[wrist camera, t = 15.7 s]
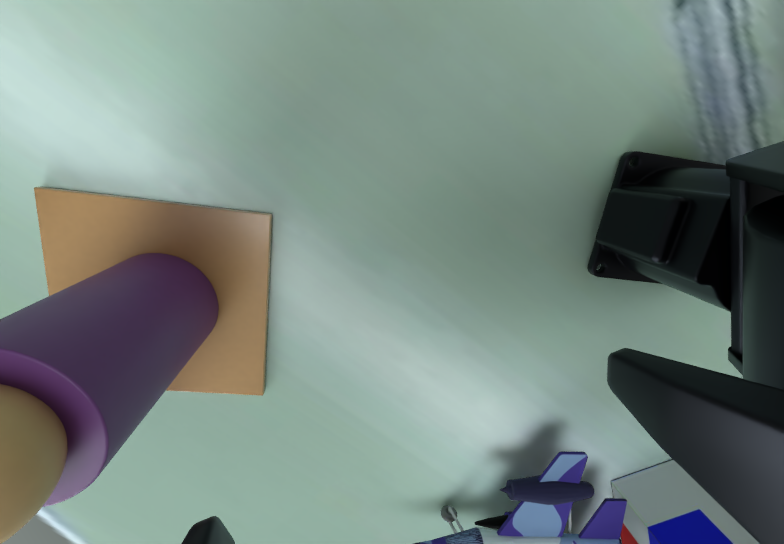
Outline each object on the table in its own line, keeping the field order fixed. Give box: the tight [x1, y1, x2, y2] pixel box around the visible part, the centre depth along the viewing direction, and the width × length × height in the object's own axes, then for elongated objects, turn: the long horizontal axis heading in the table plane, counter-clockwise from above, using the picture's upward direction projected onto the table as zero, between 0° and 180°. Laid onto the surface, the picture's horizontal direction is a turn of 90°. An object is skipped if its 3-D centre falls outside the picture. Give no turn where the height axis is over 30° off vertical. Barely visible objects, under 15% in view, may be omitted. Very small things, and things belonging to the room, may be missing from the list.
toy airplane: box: [414, 452, 627, 544], centre depth 24 cm, size 13×14×4 cm
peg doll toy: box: [0, 253, 219, 544], centre depth 13 cm, size 5×5×12 cm
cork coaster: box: [34, 187, 272, 395], centre depth 18 cm, size 10×10×1 cm
